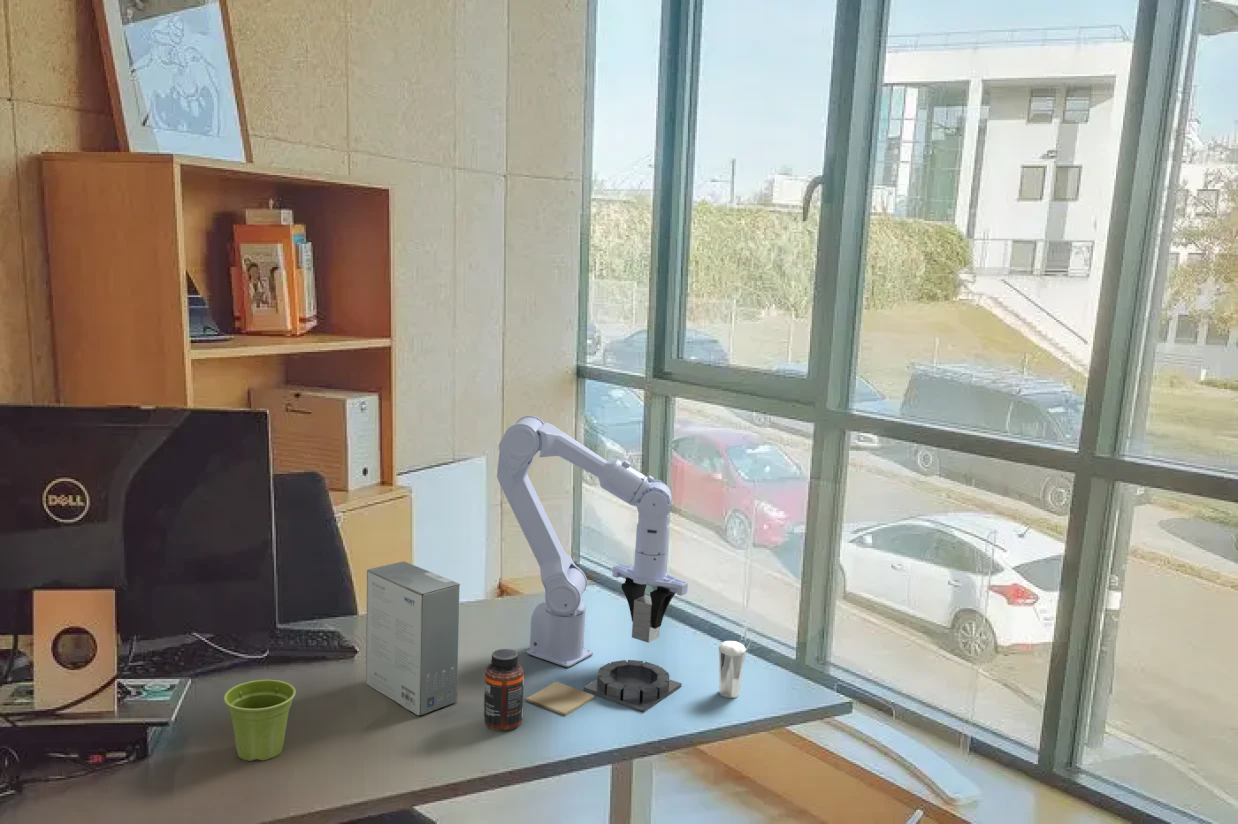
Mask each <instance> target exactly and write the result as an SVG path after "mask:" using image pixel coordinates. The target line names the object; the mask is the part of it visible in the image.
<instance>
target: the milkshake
mask: <svg viewBox="0 0 1238 824" xmlns="http://www.w3.org/2000/svg"><path fill="white" fill-rule="evenodd" d="M752 641H753V640H752V639H751V640H750V641H749V644H748V645H747V647H745V645H744V644H743V643H741V642H739V641H736V640H724V641H723V642H721V643H720V645H719V646H718V664H719V665H718V667H719V668H718V672H719V673H718V676H719V677H718V679H719V680H718V686H719V687H718V688H719V690H718V691H719V695H720V696H722V697H723V698H727V699H734V698H737V697H739V695H740V690H741V682H742V676H743V669H744V664H745V659H746V658H745V657H746V654H747V653H746V652H747V650H748V649H749V647H750V644H751V643H752Z"/></svg>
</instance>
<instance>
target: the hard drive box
mask: <svg viewBox="0 0 1238 824" xmlns="http://www.w3.org/2000/svg"><path fill="white" fill-rule="evenodd" d="M460 586H461V584H460V583H459V582H456V581H454V580H451V579H449V578H447V577H444V576H442V575H440V574H437V573H434V572H433V571H429V570H426V569H425V568H421V567H419V566H416V565H415V564H411V563H409V562H407V561H404V560H403V561H397V562H396V563H391V564H386V565H382V566H376V567H372V568H368V569H367V570H366V626H365V627H366V630H365V631H366V632H365V633H366V636H365V637H366V641H365V642H366V648H365V649H366V651H365V653H366V654H365V656H366V658H365V661H366V663H365V666H366V667H365V678H366V679H365V681H366V682H365V683H366V685H367V686H370V688H372V689H374V690H375V691H377V692H378V693H380V694H382V695H384V696H386V697H387V698H389V699H391V700H392V701H394V702H395V703H397V704H398V705H400V706H402V707H403V708H405V709H406V710H407V711H410V712H411V713H413V714H415V715H417V716H420V715H421V716H422V715H425V714H428V713H431V712H433V711H436V710H439V709H440V708H441V709H442V708H444V707H446V706H449V705H452V704H454V703H457V702H458V699H457V698H458V672H459V671H458V666H459V665H458V661H459V660H458V659H459V623H460V622H459V621H460V619H459V615H460Z"/></svg>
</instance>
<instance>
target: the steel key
mask: <svg viewBox="0 0 1238 824" xmlns="http://www.w3.org/2000/svg"><path fill="white" fill-rule="evenodd" d="M631 629H632V630H631V638H632V639H636V640H638V641H642V642H645V643H651V642H653V641H655V640H657V639H658V638H660V634H661V633H660V631H661V626H660V627H658V628H656V629H654V628H652V602H651V596H650V595H647V594H644V596H642V597H639V598H637V599H635V600H634V611H633V622H632V628H631Z"/></svg>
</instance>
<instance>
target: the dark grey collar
mask: <svg viewBox="0 0 1238 824" xmlns="http://www.w3.org/2000/svg"><path fill="white" fill-rule="evenodd" d="M682 687H683V686H682V683H681V682H678V681H676V680H672V679H670V673H669V672H668V671H667V670H666V669H664V668H663V667H662V666H659V665H657V664H654V663H651V662H648V661H643V660H633V659H628V660H625V659H622V660H616V661H611V662H607V663H606V664H603V666H601V667H599V668H598V672H597V679H594V680H593V681H591V682H589V683H588V684H586V685H585V686H583V690H582V691H583V692H586V693H589V694H592V695H594V696H598V697H601V698H602V699H603V698H604V699H605V700H606V699H607V700H609V701H612V702H615V703H617V704H620V705H623V706H625V707H628V708H631V709H634V710H637V711H639V712H642V713H645V712H647V711H648V710H650V709H651V708H653V707H655V706H656V705H657V704H659V703H660V702H661V701H662V700H664V699H666V698H667V697H668V696H670V695H672V694H673V693H674V692H676V691H677V690H679V689H680V688H682Z"/></svg>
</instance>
